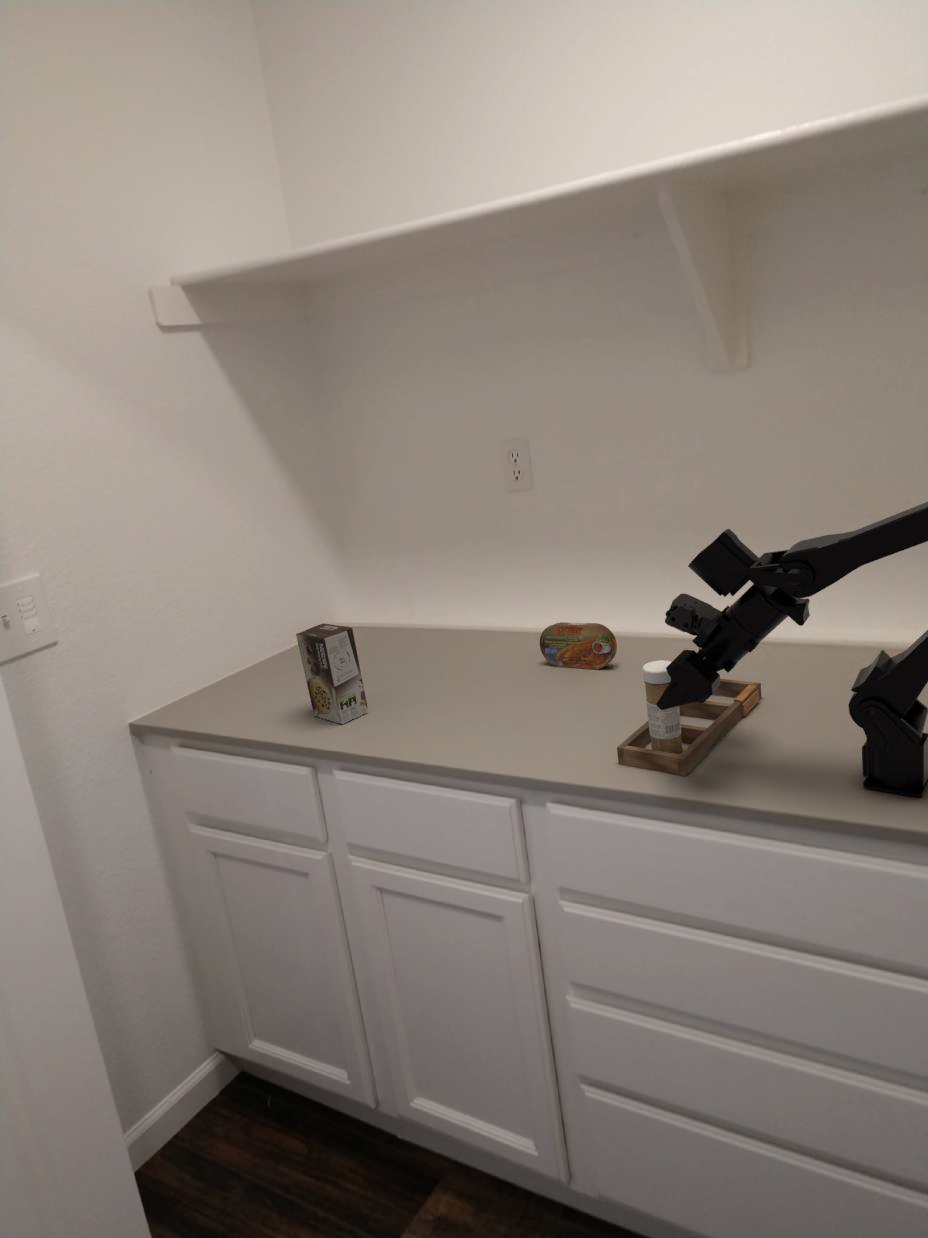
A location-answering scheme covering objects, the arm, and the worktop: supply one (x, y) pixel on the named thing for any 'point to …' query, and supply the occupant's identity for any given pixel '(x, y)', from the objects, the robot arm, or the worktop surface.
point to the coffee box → (332, 672)
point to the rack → (693, 730)
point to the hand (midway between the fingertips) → (670, 694)
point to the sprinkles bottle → (661, 721)
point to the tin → (578, 645)
